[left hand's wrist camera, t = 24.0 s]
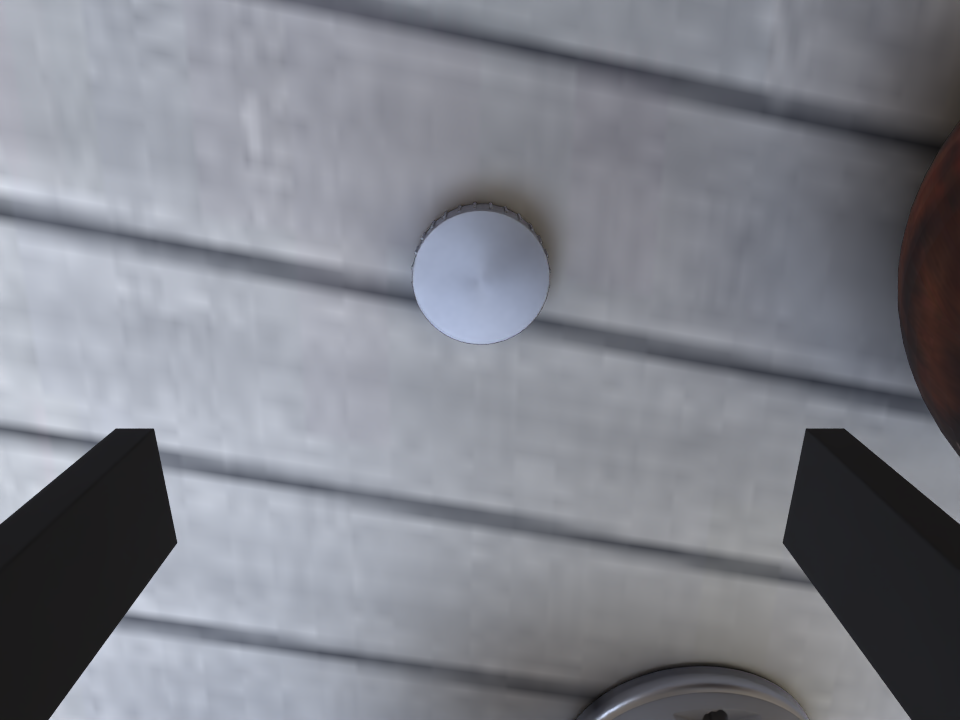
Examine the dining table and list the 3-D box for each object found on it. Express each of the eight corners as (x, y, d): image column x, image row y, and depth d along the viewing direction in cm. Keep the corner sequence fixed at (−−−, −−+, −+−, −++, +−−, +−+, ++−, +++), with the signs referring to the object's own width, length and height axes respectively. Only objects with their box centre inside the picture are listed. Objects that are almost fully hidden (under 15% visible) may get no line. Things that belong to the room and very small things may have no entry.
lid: (488, 356, 28) (489, 371, 27) (387, 277, 27) (382, 288, 25) (574, 261, 27) (581, 271, 25) (472, 172, 25) (471, 176, 24)
